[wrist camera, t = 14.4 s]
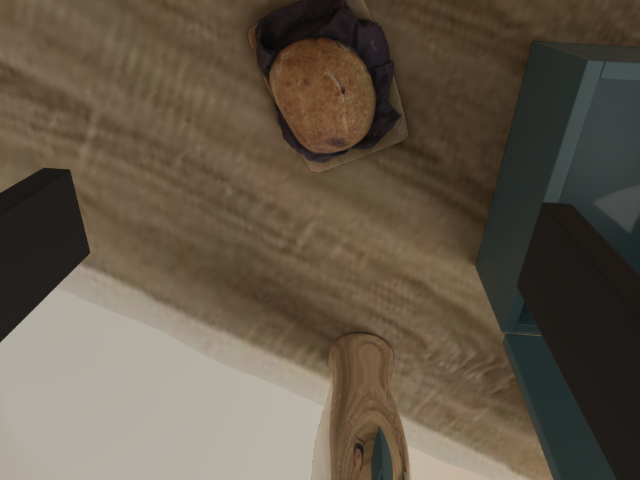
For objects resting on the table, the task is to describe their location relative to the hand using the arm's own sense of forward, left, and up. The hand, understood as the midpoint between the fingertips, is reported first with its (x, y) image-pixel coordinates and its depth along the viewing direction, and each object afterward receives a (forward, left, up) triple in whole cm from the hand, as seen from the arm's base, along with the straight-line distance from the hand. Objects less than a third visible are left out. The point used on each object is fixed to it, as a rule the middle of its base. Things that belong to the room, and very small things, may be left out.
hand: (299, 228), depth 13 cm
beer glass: (+24, +4, -20) cm, 31 cm away
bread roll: (0, 0, -20) cm, 20 cm away
